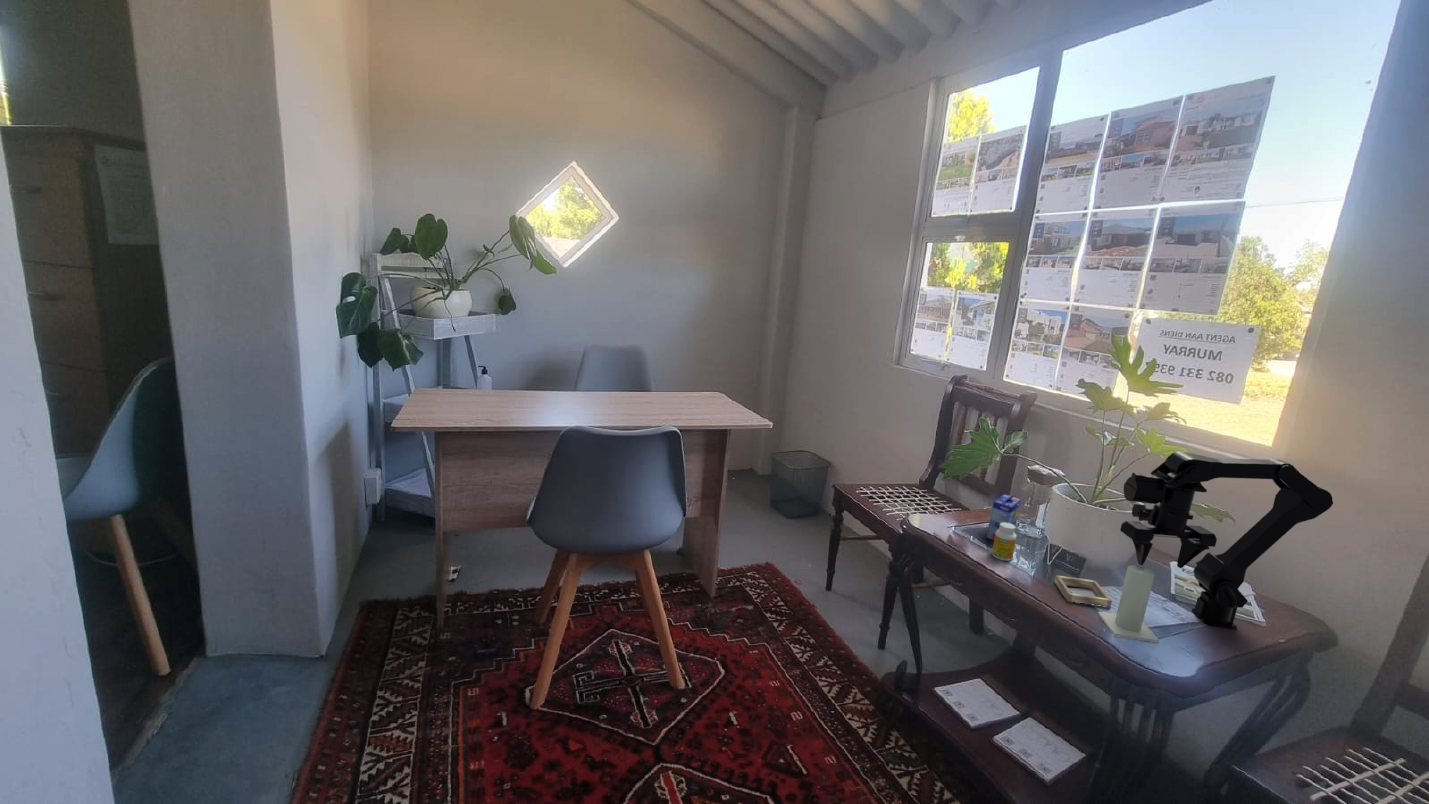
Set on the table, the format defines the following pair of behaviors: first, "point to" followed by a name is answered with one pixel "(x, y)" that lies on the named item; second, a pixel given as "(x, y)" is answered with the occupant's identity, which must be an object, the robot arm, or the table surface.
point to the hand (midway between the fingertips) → (1159, 565)
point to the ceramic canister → (1134, 598)
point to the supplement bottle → (1004, 542)
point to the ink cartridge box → (1003, 513)
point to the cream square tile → (1118, 631)
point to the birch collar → (1077, 598)
